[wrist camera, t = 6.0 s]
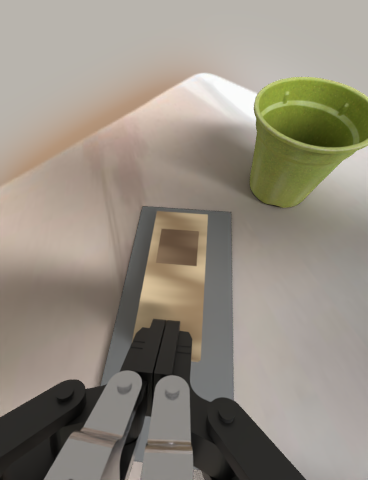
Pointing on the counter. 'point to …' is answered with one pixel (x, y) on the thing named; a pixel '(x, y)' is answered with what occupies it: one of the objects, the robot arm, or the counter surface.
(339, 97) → the plant pot
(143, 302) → the oak block
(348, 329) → the counter surface
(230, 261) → the slate mat
